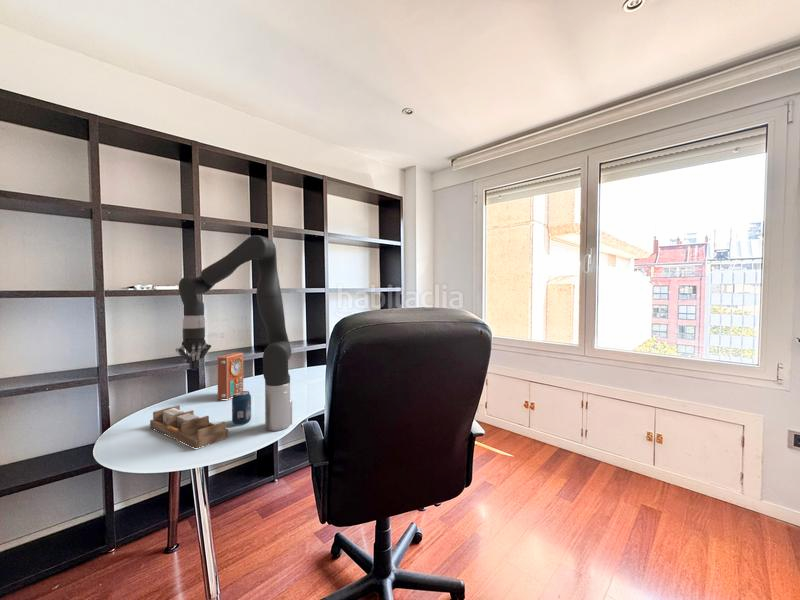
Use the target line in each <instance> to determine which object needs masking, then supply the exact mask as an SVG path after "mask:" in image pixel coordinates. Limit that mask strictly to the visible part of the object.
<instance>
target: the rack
mask: <svg viewBox="0 0 800 600" xmlns="http://www.w3.org/2000/svg"><path fill="white" fill-rule="evenodd" d="M187 413H190V414H192V415H195V414H194V413H195V412H194V410H192V409H191V410H188V411H184V410H181V407H180V405H173V406H171V407H166V408H162V409H159V410H155V411H153V412H152V419H149V428H150V429H151V428H152V429H151V430H153V429H155V430H157V431H159V432H161V433H160V434H162V433H163V434H162V435H164V434H166V435H168V436H170V437H172V438H175V439H177V440H178V441H181V442H183V443H185V444H187V445H189V446H191V447H194V448H199V447H202V446H205V447H207V446H206V445H208V444H210V445H212V443H213V444H215V443H214V442H216V443H218V442H220V440H221V441H222V439H223V440H226V439H228V438H229V429H228V428H226V422H225V421H221V422H218V423H213V422H209V419H210V418H209V417H210V416H209V415H205V416H202V417H199V418H198V419H195V420H192V421H188V422H185V423H182V424H181V431H179V429H177V416H180V415H183V414H187ZM155 430H154V431H155ZM157 431H156V432H157ZM159 432H158V433H159ZM166 435H165V436H166ZM168 436H167V437H168ZM170 437H169V438H170ZM227 437H228V438H227ZM172 438H171V439H172ZM225 438H226V439H225ZM178 441H177V442H178ZM217 441H218V442H217ZM185 444H184V445H185ZM187 445H186V446H187ZM189 446H188V447H189ZM208 446H209V445H208ZM191 447H190V448H191Z"/></svg>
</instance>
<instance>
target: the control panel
mask: <svg viewBox="0 0 800 600" xmlns="http://www.w3.org/2000/svg"><path fill="white" fill-rule="evenodd" d="M240 391H244V353H243V352H231V353H228V354H227V353H226V354H224V355H220V356H218V357H217V400H218V399H229V398H231V397H233V396H234V393H236V392H240Z"/></svg>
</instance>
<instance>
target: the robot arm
mask: <svg viewBox="0 0 800 600" xmlns="http://www.w3.org/2000/svg"><path fill="white" fill-rule="evenodd" d="M254 260H257V264H258V265H257V266H258V270H259V277H258V282H257V285H256V295H255V296H256V303H257V308H258V313H259V314H260V315H259V316H260V318H261V320H262V322H263V324H264V327H265V329H266V333H267V340H268V345H267V347H265V349H264V352H263V354H262V368H263V369H262V373H263V378H264V384H265V385H264V386H265V387H264V396H265V397H264V398H265V401H264V404H265V405H264V409H265V413H264V414H265V415H264V416H265V417H264V418H265V419H264V420H265V421H264V425H265V426H264V427H265V428H264V429H265V430H267V431H271V432H277V431H281V430H286V429H288V428H289V427H290V426H291V425H292V424H293V400H292V399H291V376H290V373H289V360H290V358H291V356H292V347H291V344H290V340H289V336H288V332H287V329H286V321H285V320H286V319H285V318H286V317H285V312H284V311H285V310H284V302H283V297H282V290H281V285H280V279H279V272H278V262H277V261H278V258H277V248H276V244H275V243H274V241H273V240H272V239H270V238H268V237H265V236H262V235H257V234H255V235H251V236H249V237H248V238H246V239H245V240H244V241H243V242H241V243H240V244H239V245H238V246H237V247H235V248H234V249H233V250H232V251H230V252H229V253H228V254H227V255H225V256H223V257H222V258H221V259H219V260H217V261H215V262H214V263H212V264H210V265H208V266H207V267H205V268H204V269H202V271H201V272H200V275H199V276H184V277H181V279H180V281H179V283H178V292H179V295H180V299H181V302H182V304H183V306H182V308H183V309H182V310H183V312H182V313H183V317H182V342H181V345H180V346H179V347H177V348H175V352H176V353H177V354H178V355H179V356H180V357H181V358H182V359H183V360H185V361H188V362H189V366H188V367H189V369H190V370H191V371H197V370H198V368H199V367H200V366H199V365H200V364H199V363H200V360H201V359H203V358H204V357H206V355H207V353H208V352H209V350H210V349H211V348H212V345H211V344H208V343H207V342H206V339H205V337H206V319H205V304H204V302H203V301H202V300H199V299H198V295H202V294H205V293H207V292H208V291H210V290H211V289H212V288H213V287H214V286H215V285H216V284H218V283H220V282H221V281H223V280H225V279H226V278H228V277H230V276H231V275H232V274H233V273H234V272H235V271H236V270H237V269H238V268H239V267H241V265H244V264H245V263H247V262H250V261H254ZM185 351H186V352H185Z"/></svg>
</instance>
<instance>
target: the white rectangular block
mask: <svg viewBox="0 0 800 600" xmlns="http://www.w3.org/2000/svg"><path fill="white" fill-rule="evenodd" d="M198 418H200V416H197V415H195V414H194V415H192V414H190V413H187V414H183V415H180V416H177V429H179V431H181V424H182V423H185V422H188V421H192V420H195V419H198Z"/></svg>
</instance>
